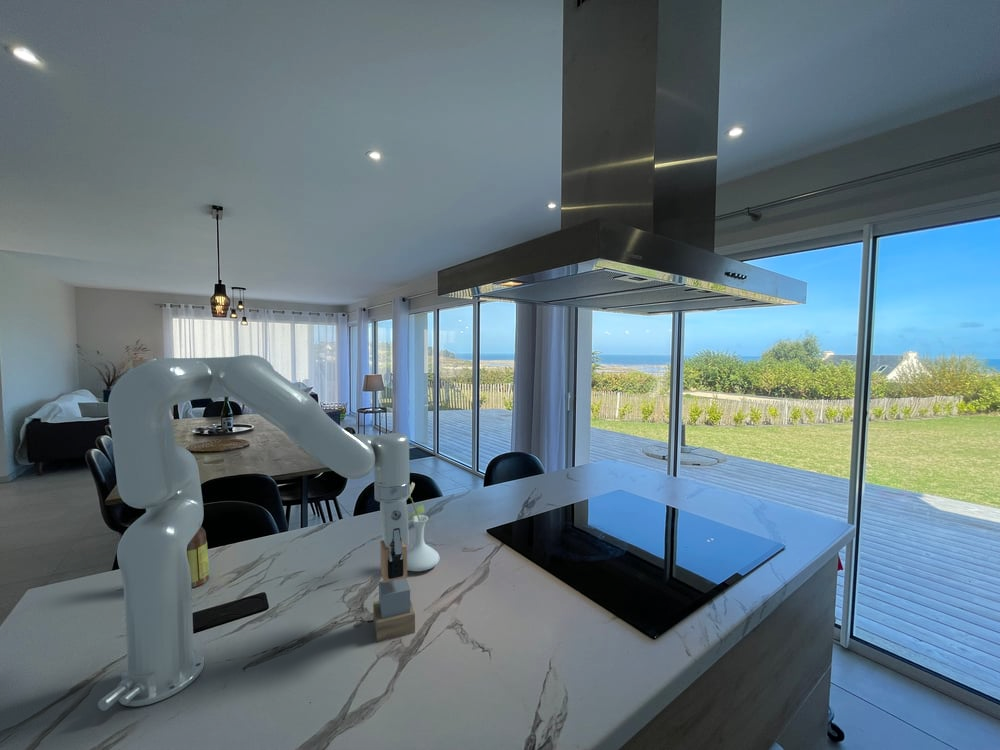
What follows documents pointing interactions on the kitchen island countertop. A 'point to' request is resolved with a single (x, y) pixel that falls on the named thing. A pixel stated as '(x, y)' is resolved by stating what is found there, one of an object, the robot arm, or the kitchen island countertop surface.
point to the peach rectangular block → (385, 559)
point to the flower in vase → (420, 542)
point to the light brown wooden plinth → (392, 623)
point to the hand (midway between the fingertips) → (393, 569)
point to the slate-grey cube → (394, 597)
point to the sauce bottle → (198, 558)
